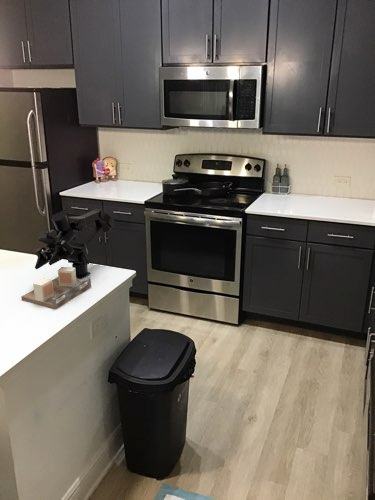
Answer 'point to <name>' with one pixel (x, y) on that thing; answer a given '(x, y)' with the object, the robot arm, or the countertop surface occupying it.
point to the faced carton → (43, 289)
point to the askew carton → (67, 276)
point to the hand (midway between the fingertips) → (42, 266)
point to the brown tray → (60, 293)
